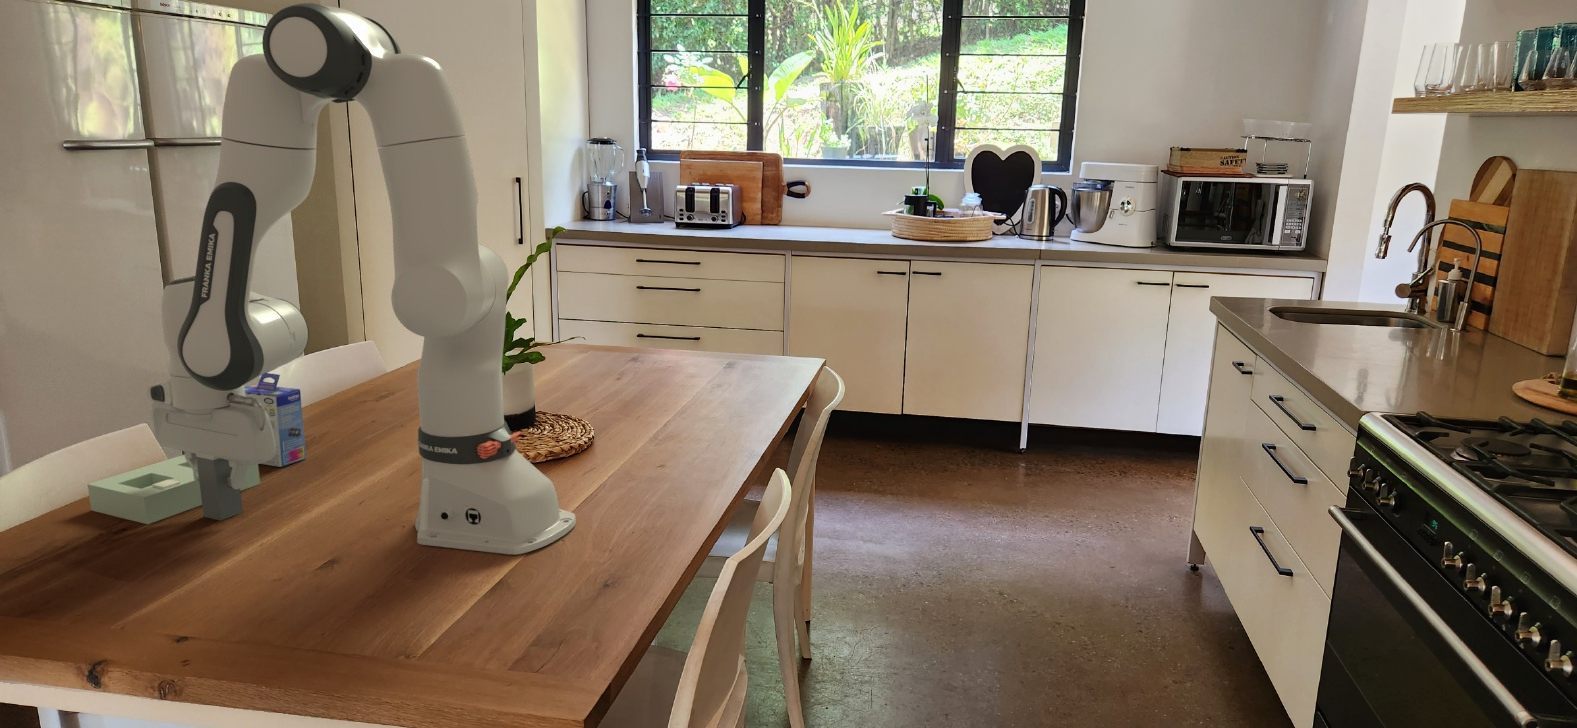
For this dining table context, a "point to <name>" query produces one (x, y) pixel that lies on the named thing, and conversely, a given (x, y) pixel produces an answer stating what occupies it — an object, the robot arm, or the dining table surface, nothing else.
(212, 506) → the plug
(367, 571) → the dining table surface
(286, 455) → the ink cartridge box
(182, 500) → the socket board
